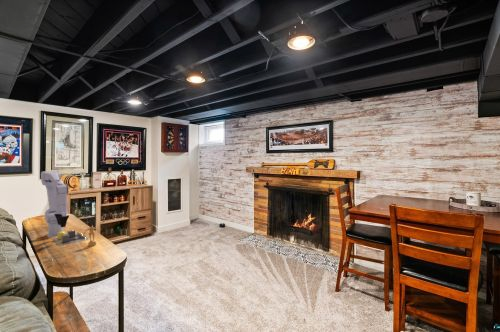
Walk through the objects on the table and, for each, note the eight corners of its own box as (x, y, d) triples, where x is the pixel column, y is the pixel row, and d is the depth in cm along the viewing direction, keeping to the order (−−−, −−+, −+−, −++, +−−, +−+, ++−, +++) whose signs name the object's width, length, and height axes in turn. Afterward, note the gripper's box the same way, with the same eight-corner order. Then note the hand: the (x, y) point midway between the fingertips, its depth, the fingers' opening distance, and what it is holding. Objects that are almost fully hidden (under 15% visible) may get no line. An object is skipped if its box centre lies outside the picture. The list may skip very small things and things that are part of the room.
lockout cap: (64, 237, 153) (64, 230, 153) (66, 238, 151) (66, 232, 151) (56, 238, 150) (56, 232, 150) (59, 240, 148) (58, 233, 148)
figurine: (84, 249, 137) (83, 229, 136) (82, 246, 141) (82, 226, 141) (101, 246, 142) (100, 226, 142) (99, 243, 147) (99, 224, 146)
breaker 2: (67, 236, 154) (67, 230, 154) (74, 235, 157) (74, 229, 157) (68, 237, 152) (68, 231, 152) (75, 236, 155) (75, 230, 155)
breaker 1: (61, 241, 146) (61, 235, 146) (68, 239, 148) (68, 234, 148) (62, 242, 144) (62, 236, 144) (69, 240, 147) (69, 235, 146)
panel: (52, 240, 150) (52, 236, 150) (80, 235, 162) (80, 231, 161) (58, 248, 139) (58, 243, 139) (89, 241, 150) (88, 236, 150)
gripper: (50, 203, 152) (51, 224, 152) (55, 206, 142) (56, 229, 143) (64, 202, 157) (64, 222, 158) (70, 205, 148) (70, 227, 148)
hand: (61, 225), depth 151 cm, fingers open, 7 cm apart
